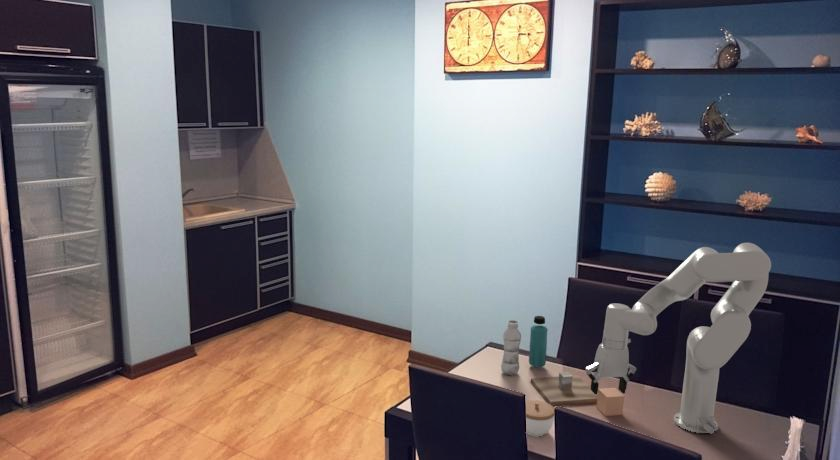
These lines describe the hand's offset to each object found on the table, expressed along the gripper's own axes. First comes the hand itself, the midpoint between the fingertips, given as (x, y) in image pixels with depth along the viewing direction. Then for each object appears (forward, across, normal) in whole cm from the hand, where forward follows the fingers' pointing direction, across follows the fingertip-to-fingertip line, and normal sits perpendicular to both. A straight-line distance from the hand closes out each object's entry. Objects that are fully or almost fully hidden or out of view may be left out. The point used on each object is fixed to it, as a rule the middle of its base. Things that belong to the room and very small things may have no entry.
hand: (607, 391), depth 201 cm
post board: (+7, +8, -14) cm, 18 cm away
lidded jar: (+7, +28, +10) cm, 30 cm away
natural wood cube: (+6, -1, +1) cm, 7 cm away
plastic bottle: (+8, +22, -31) cm, 39 cm away
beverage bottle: (+8, +10, -35) cm, 38 cm away
